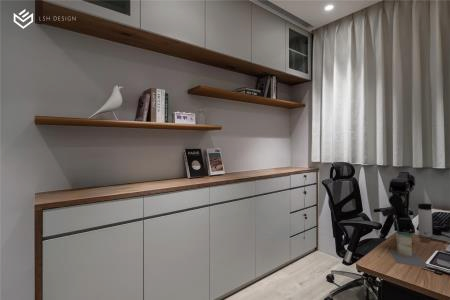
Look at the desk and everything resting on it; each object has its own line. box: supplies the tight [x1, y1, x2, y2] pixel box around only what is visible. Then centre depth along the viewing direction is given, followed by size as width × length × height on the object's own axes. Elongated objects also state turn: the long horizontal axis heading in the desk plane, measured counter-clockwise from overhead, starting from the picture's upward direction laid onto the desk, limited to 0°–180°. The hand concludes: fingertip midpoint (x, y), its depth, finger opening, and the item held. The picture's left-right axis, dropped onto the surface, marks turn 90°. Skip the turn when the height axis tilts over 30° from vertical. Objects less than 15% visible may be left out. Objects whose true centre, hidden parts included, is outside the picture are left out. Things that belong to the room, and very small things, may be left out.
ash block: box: [396, 231, 413, 257], centre depth 120 cm, size 5×5×10 cm
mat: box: [388, 249, 430, 269], centre depth 115 cm, size 16×12×1 cm
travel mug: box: [417, 203, 433, 239], centre depth 144 cm, size 6×7×20 cm
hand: (400, 232), depth 126 cm, fingers closed
